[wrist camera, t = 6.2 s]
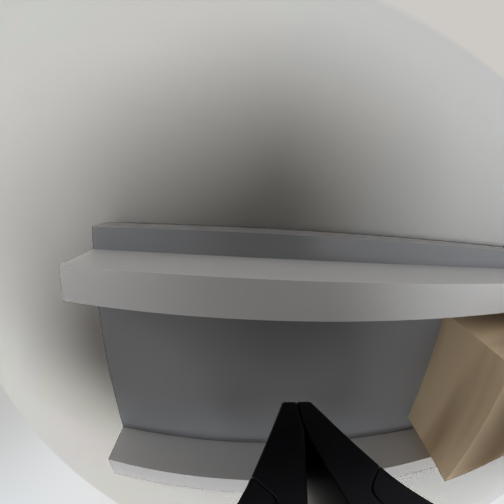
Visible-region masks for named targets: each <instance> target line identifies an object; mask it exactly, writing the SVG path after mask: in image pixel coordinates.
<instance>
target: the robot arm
mask: <svg viewBox="0 0 504 504" xmlns="http://www.w3.org/2000/svg"><path fill="white" fill-rule="evenodd" d="M237 504H433V503H431V502H429V501H428V500H426V499H424V498H423V497H421V496H420V495H418V494H416V493H415V492H413V491H412V490H410V489H409V488H407V487H406V486H404V485H403V484H401V483H400V482H399V481H398V480H396V479H395V478H394V477H392V476H391V475H390V474H389V473H388V472H386V471H385V470H384V469H383V468H382V467H379V465H378V464H377V463H376V462H375V461H374V460H372V459H371V458H370V457H369V456H368V455H367V454H366V453H365V452H364V451H362V450H361V449H360V448H359V447H358V446H357V445H356V444H355V443H354V442H353V441H351V440H350V439H349V438H348V437H347V436H346V435H345V434H344V433H343V432H342V431H341V430H340V429H338V428H337V427H336V426H335V425H334V424H333V423H332V422H331V421H330V420H329V419H328V418H327V417H326V416H325V415H324V414H323V413H322V412H321V411H320V410H319V409H318V408H317V407H315V406H314V405H313V404H312V403H311V402H297V403H296V402H283V403H282V404H281V407H280V410H279V412H278V415H277V417H276V420H275V422H274V425H273V427H272V430H271V432H270V435H269V437H268V439H267V442H266V444H265V447H264V449H263V451H262V454H261V456H260V458H259V461H258V463H257V465H256V467H255V470H254V472H253V474H252V476H251V479H250V480H249V482H248V485H247V487H246V489H245V491H244V493H243V494H242V496H241V498H240V500H239V502H238V503H237Z"/></svg>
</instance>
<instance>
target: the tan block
mask: <svg viewBox="0 0 504 504" xmlns="http://www.w3.org/2000/svg"><path fill="white" fill-rule="evenodd" d="M408 418H409V420H410V422H411V423H412V425H413V427H414V428H415V430H416V432H417V433H418V435H419V437H420V439H421V440H422V442H423V444H424V445H425V447H426V449H427V451H428V452H429V454H430V456H431V458H432V459H433V461H434V463H435V465H436V466H437V468H438V470H439V472H440V474H441V475H442V477H443V479H444V481H447V480H450V479H453V478H455V477H458V476H460V475H463V474H465V473H467V472H470V471H472V470H474V469H476V468H479V467H481V466H483V465H485V464H487V463H489V462H491V461H493V460H495V459H497V458H499V457H501V456H503V455H504V313H498V314H488V315H478V316H466V317H453V318H443V319H442V322H441V326H440V329H439V333H438V336H437V340H436V343H435V346H434V349H433V352H432V355H431V358H430V361H429V364H428V367H427V370H426V373H425V376H424V378H423V381H422V384H421V386H420V389H419V391H418V394H417V396H416V399H415V401H414V404H413V406H412V408H411V411H410V413H409V415H408Z"/></svg>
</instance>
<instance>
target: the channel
mask: <svg viewBox="0 0 504 504" xmlns="http://www.w3.org/2000/svg"><path fill="white" fill-rule="evenodd" d="M92 236H93V249H92V250H90V251H88V252H85V253H83V254H81V255H79V256H77V257H75V258H73V259H71V260H69V261H66V262H64V263H62V264H60V265H59V271H60V280H61V287H62V294H63V301H65V302H72V303H79V304H86V305H93V306H98V307H99V314H100V321H101V328H102V334H103V340H104V346H105V351H106V357H107V362H108V367H109V372H110V376H111V381H112V385H113V389H114V394H115V398H116V402H117V405H118V409H119V413H120V417H121V420H122V424H123V429H122V431H121V433H120V435H119V437H118V439H117V442H116V444H115V446H114V448H113V450H112V452H111V454H110V457H109V459H108V460H109V462H110V464H111V467H112V469H113V471H114V473H116V474H119V475H123V476H127V477H131V478H136V479H140V480H145V481H150V482H155V483H160V484H166V485H172V486H178V487H185V488H193V489H201V490H211V491H223V492H242V493H244V491H245V489H246V487H247V485H248V482H249V480H250V479H251V476H252V474H253V472H254V470H255V467H256V465H257V463H258V461H259V458H260V456H261V454H262V451H263V449H264V447H265V444H266V442H267V439H268V437H269V435H270V432H271V430H272V427H273V425H274V422H275V420H276V417H277V415H278V412H279V410H280V407H281V404H282V403H283V402H296V403H297V402H311V403H312V404H313V405H314V406H315V407H317V408H318V409H319V410H320V411H321V412H322V413H323V414H324V415H325V416H326V417H327V418H328V419H329V420H330V421H331V422H332V423H333V424H334V425H335V426H336V427H337V428H338V429H340V430H341V431H342V432H343V433H344V434H345V435H346V436H347V437H348V438H349V439H350V440H351V441H353V442H354V443H355V444H356V445H357V446H358V447H359V448H360V449H361V450H362V451H364V452H365V453H366V454H367V455H368V456H369V457H370V458H371V459H372V460H374V461H375V462H376V463H377V464H378V465H379V467H382V468H383V469H384V470H385V471H386V472H388V473H389V474H390V475H391V476H392V477H394V478H396V477H400V476H404V475H408V474H412V473H416V472H419V471H423V470H426V469H429V468H433V467H436V465H435V463H434V461H433V459H432V458H431V456H430V454H429V452H428V451H427V449H426V447H425V445H424V444H423V442H422V440H421V439H420V437H419V435H418V433H417V432H416V430H415V428H414V427H413V425H412V423H411V422H410V420H409V418H408V415H409V413H410V411H411V408H412V406H413V404H414V401H415V399H416V396H417V394H418V391H419V389H420V386H421V384H422V381H423V378H424V376H425V373H426V370H427V367H428V364H429V361H430V358H431V355H432V352H433V349H434V346H435V343H436V340H437V336H438V333H439V329H440V326H441V322H442V319H443V318H453V317H466V316H478V315H488V314H498V313H504V247H496V246H487V245H477V244H467V243H456V242H446V241H434V240H423V239H411V238H399V237H386V236H373V235H360V234H346V233H331V232H315V231H299V230H282V229H264V228H244V227H223V226H200V225H173V224H143V223H103V224H100V225H96V226H93V227H92Z"/></svg>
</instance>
